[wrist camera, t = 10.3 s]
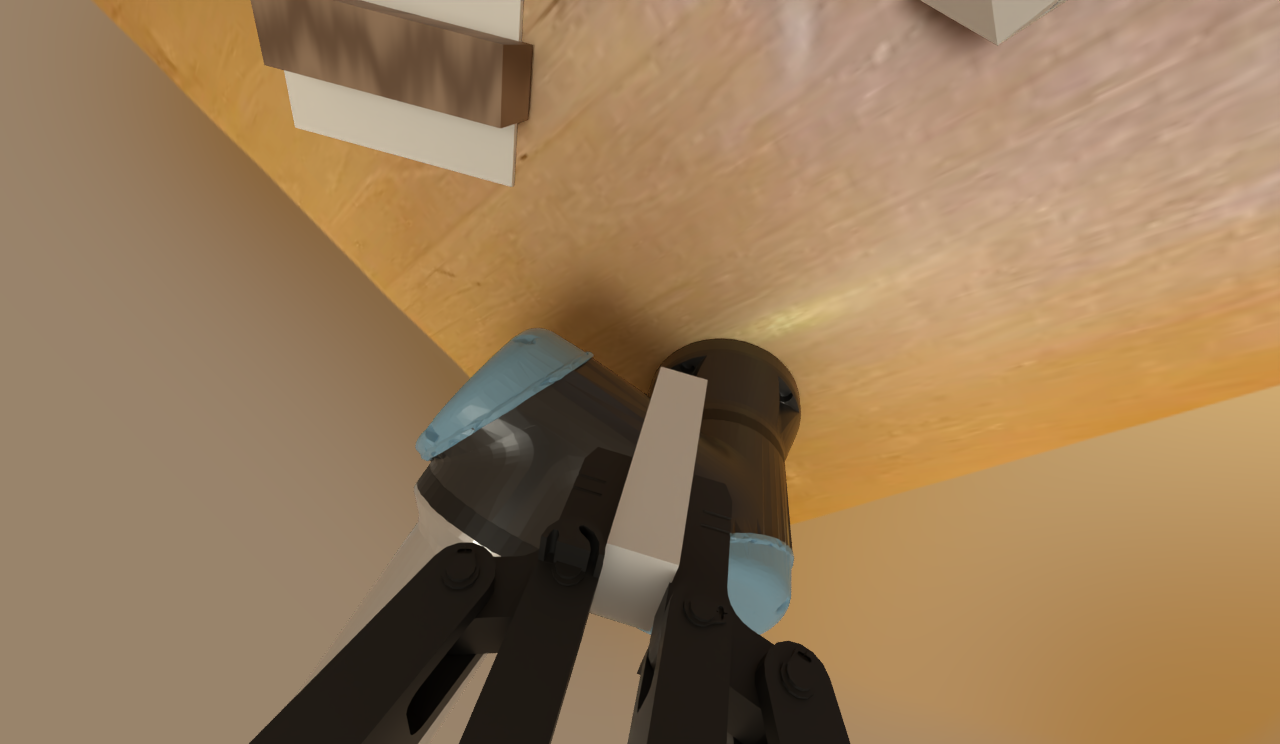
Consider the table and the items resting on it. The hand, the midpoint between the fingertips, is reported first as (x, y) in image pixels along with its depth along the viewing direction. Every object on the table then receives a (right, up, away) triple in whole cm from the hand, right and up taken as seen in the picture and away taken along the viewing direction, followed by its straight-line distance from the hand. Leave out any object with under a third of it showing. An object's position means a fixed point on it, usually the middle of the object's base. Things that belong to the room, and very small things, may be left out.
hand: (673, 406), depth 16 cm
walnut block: (-10, +22, +19) cm, 31 cm away
